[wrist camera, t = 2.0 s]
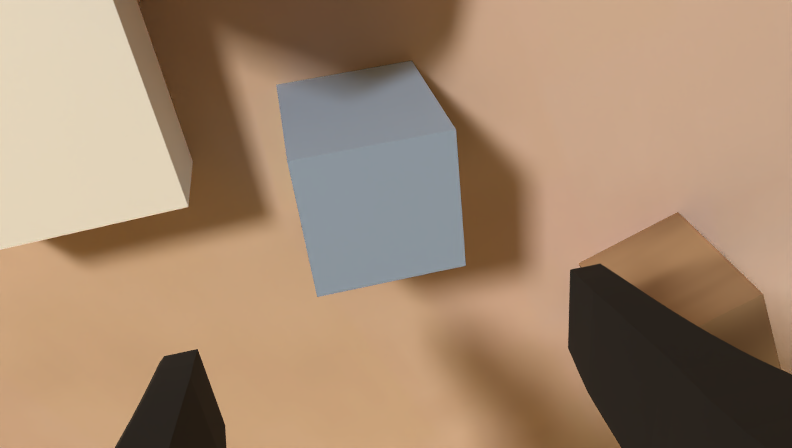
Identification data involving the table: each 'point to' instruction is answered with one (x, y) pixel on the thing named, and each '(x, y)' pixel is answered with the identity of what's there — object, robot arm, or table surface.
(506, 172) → the table surface
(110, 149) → the foundation slab
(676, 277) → the block
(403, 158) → the blue block
